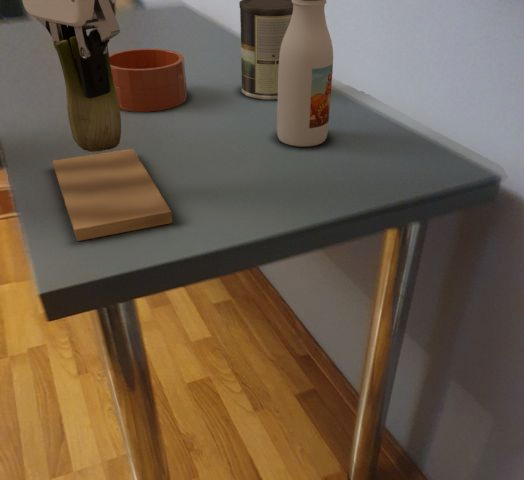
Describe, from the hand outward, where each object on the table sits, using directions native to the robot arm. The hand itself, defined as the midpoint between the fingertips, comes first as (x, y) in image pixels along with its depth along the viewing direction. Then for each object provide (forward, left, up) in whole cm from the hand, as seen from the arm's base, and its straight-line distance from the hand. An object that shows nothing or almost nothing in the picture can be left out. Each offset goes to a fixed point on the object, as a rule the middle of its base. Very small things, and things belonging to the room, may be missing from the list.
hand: (89, 90), depth 61 cm
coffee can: (-10, +46, -13) cm, 49 cm away
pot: (-24, +29, -12) cm, 40 cm away
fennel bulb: (0, 0, -7) cm, 7 cm away
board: (0, 0, -12) cm, 12 cm away
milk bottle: (+8, +31, -13) cm, 34 cm away
